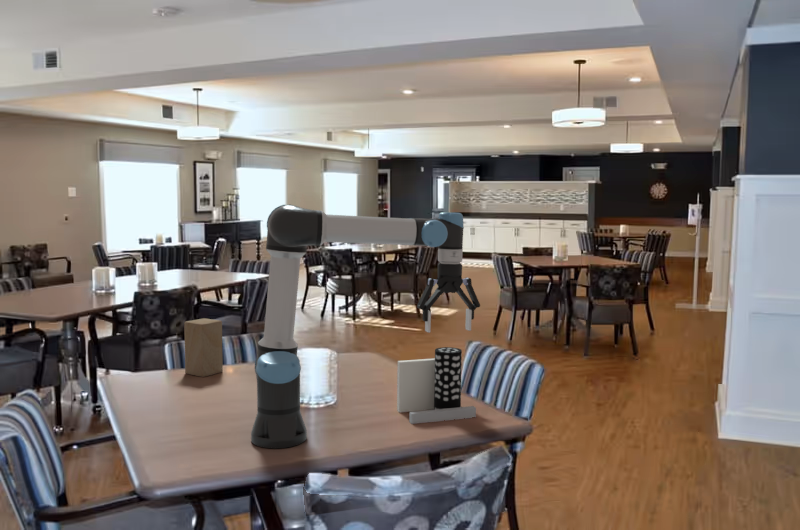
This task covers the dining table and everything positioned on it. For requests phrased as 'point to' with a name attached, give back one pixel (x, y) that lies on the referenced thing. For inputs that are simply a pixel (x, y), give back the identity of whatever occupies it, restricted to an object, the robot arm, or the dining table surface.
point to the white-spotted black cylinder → (447, 378)
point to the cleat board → (423, 393)
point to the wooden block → (203, 347)
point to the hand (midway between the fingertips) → (448, 330)
